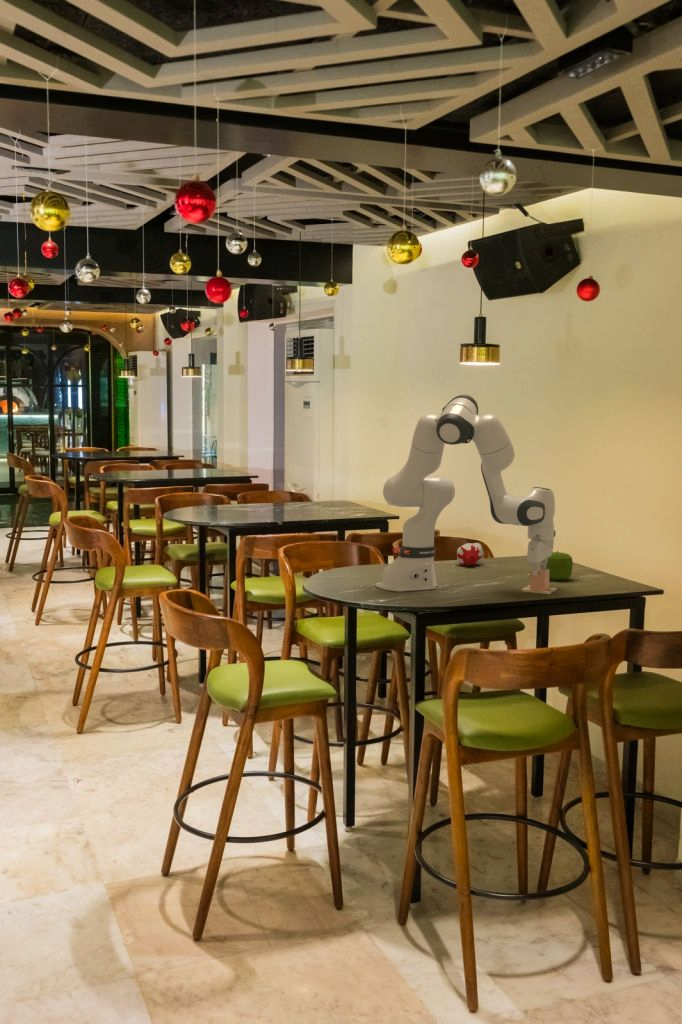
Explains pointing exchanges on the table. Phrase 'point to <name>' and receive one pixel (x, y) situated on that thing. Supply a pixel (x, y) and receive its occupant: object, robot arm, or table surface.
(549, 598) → the table surface
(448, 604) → the table surface
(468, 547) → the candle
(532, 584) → the salmon orange block
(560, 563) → the apple
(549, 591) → the post stand
